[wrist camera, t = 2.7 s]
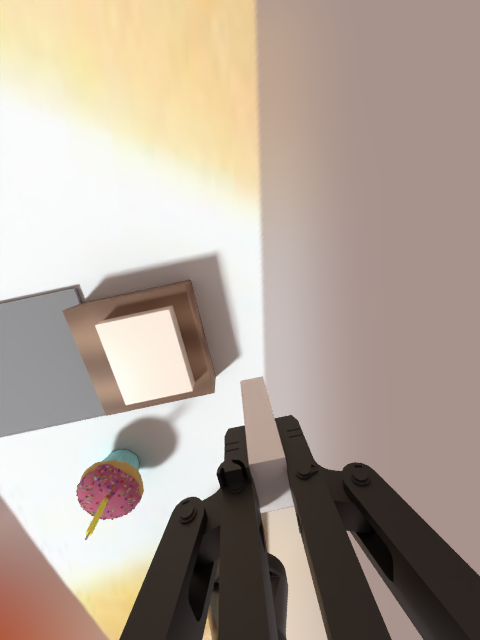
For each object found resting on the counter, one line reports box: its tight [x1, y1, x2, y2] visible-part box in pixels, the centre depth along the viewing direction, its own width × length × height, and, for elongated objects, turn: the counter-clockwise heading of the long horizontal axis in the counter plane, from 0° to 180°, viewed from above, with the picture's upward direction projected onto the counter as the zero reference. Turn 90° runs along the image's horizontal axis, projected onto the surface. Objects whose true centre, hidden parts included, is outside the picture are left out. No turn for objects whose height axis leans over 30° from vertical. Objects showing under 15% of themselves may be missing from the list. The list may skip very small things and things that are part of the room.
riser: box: [62, 280, 216, 416], centre depth 32 cm, size 14×14×4 cm
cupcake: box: [77, 450, 144, 540], centre depth 33 cm, size 9×8×12 cm
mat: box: [0, 288, 106, 437], centre depth 33 cm, size 18×18×1 cm
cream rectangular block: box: [95, 305, 195, 405], centre depth 29 cm, size 10×8×2 cm
